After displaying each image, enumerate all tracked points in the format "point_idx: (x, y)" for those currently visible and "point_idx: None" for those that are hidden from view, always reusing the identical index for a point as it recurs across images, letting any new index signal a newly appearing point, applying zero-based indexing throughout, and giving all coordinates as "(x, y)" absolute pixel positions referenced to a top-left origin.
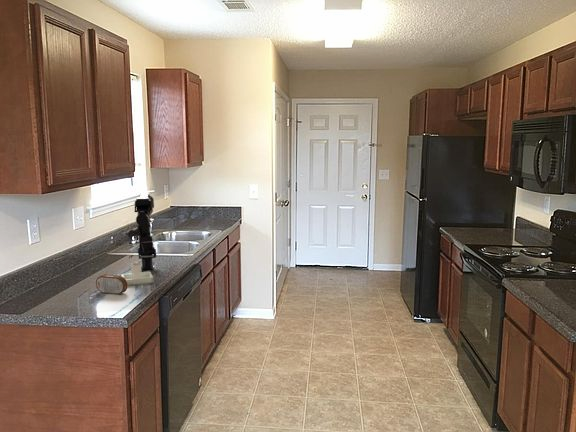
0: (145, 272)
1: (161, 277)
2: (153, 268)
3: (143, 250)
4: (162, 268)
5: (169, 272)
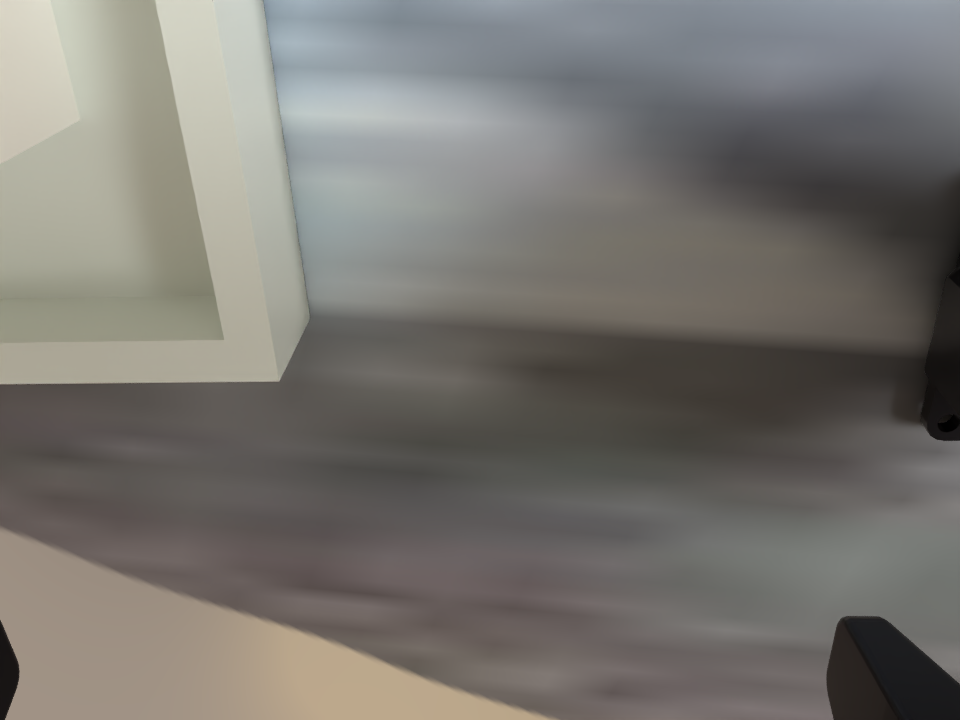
0: (211, 270)
1: (257, 485)
2: (957, 427)
3: (842, 645)
4: (932, 562)
5: (568, 624)
